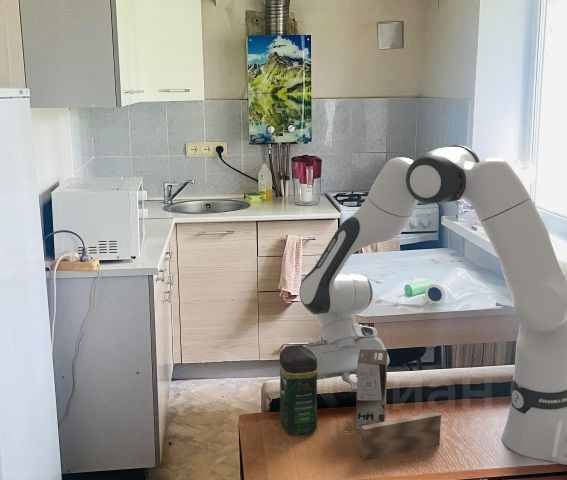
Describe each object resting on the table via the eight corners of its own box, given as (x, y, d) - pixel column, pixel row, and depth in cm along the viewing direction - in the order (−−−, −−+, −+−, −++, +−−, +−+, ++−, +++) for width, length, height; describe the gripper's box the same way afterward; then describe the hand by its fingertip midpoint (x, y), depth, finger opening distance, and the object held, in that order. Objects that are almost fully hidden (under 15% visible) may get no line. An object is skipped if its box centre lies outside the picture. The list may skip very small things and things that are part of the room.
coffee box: (384, 432, 153) (386, 364, 149) (355, 430, 154) (356, 362, 151) (386, 413, 162) (388, 349, 158) (359, 411, 163) (360, 347, 159)
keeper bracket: (426, 433, 152) (427, 404, 151) (439, 445, 147) (441, 415, 146) (352, 447, 147) (352, 417, 145) (363, 460, 141) (364, 429, 140)
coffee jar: (321, 434, 152) (321, 356, 148) (286, 439, 150) (286, 359, 146) (309, 415, 161) (309, 340, 157) (276, 419, 159) (275, 343, 155)
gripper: (305, 338, 165) (320, 392, 158) (381, 327, 172) (399, 379, 165) (299, 349, 170) (313, 402, 163) (373, 338, 177) (390, 389, 170)
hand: (357, 390), depth 164 cm, fingers closed
